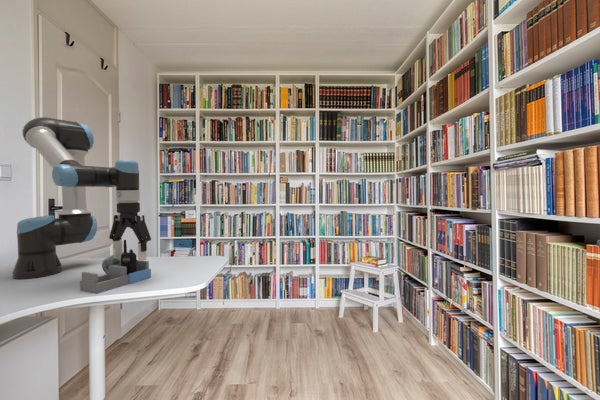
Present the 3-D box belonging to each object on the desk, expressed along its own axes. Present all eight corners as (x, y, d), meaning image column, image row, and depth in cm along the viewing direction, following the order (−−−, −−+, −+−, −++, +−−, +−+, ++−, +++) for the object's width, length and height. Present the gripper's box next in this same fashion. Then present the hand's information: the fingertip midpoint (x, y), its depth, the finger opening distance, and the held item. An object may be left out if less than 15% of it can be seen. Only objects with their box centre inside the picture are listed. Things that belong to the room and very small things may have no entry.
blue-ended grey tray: (80, 289, 100) (79, 272, 100) (135, 274, 119) (134, 259, 118) (98, 293, 96) (97, 275, 96) (152, 277, 115) (151, 261, 114)
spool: (120, 269, 113) (113, 246, 116) (98, 281, 114) (92, 257, 117) (144, 269, 127) (137, 248, 129) (125, 279, 127) (118, 258, 130)
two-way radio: (119, 280, 110) (118, 240, 110) (126, 277, 115) (125, 238, 114) (134, 280, 110) (132, 240, 110) (140, 277, 114) (139, 238, 114)
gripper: (97, 202, 113) (99, 258, 114) (142, 202, 103) (144, 264, 103) (116, 201, 120) (118, 254, 121) (160, 201, 110) (162, 259, 110)
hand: (130, 259), depth 112 cm, fingers open, 13 cm apart
